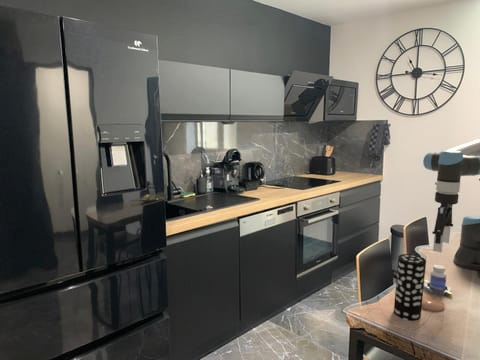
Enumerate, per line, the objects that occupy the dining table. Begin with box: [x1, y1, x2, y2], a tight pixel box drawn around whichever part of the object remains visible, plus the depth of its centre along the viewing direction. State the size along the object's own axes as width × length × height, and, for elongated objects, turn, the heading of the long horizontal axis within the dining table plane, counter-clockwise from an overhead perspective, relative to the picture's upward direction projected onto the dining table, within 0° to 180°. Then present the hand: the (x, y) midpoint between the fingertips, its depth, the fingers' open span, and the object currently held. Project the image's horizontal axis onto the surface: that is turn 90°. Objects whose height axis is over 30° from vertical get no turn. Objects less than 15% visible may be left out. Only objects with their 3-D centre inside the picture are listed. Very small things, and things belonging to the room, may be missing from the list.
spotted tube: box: [393, 253, 427, 322], centre depth 117 cm, size 8×8×20 cm
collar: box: [423, 279, 453, 299], centre depth 136 cm, size 9×12×2 cm
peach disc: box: [422, 294, 446, 312], centre depth 126 cm, size 10×10×1 cm
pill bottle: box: [429, 264, 447, 291], centre depth 136 cm, size 5×5×10 cm
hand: (441, 246), depth 134 cm, fingers open, 13 cm apart
